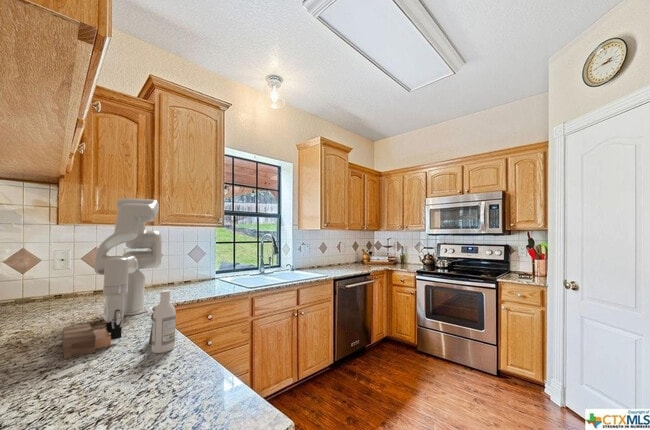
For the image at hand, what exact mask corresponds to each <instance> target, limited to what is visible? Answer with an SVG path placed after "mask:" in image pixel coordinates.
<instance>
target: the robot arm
mask: <svg viewBox="0 0 650 430" xmlns="http://www.w3.org/2000/svg"><path fill="white" fill-rule="evenodd" d="M116 208H117V210H118V211H117V215H116V220H115V226H114V232H113V233H112V234H111V235H109V236H108V237H107V238H105V239H104V240H103V242H101V244H100V245H99V246H98V248H97V250H96V254H95V258H94V265H93V271H94V272H95V274H97V275H99V276H103V287H102V288H103V291H102V295H103V296H105V299H104V309H103V319H104V321H105V322H106V324H105V329H106V330H107V331H108V333H109V334H110V335H111V341H113V340H118V339H121V338H122V328H123V324H122V320H123V319H124V317H125V316H135V315H140V314H143V313H146V312H147V311H148V308H147V307H144V305H145V285H146V282H145V281H146V278H145V277H146V276H145V274H144V273H143V272H142V271H141V270H144V269H145V270H146V269H157V268H159V267H160V266H161V264H162V242H163V241H162V234H161V232H160V231H158V230H147V229H146V223H151V222H155V220H156V218H157V216H158V213H159V210H160V205H159V202H158V200H156V199H147V198H128V197H127V198H126V197H125V198H120V199H118V200H117V202H116ZM122 244H125V246H126V248H127V249H131V250H129V251H126V252H124V253H123V254H122V255H107V254H108V253H109V252H110V250H111V249H113V248H114V247H117V246H119V245H122ZM133 249H134V250H133ZM135 249H136V250H135ZM138 249H139V250H138ZM142 249H144V250H142ZM145 249H150V250H145Z"/></svg>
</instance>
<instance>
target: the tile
mask: <svg viewBox="0 0 650 430" xmlns="http://www.w3.org/2000/svg"><path fill="white" fill-rule="evenodd" d="M93 332H94V334H95V336H96V337H95V350H96V349H100V348H106V347H109V346H110V347H111V345H112V340H111V335H110V334H111V333H108V331H107V330H106V328H101V329H97V330H93Z"/></svg>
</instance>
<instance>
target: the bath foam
mask: <svg viewBox="0 0 650 430" xmlns="http://www.w3.org/2000/svg"><path fill="white" fill-rule="evenodd" d="M159 300H160V301H159V303H158V305H157V306H156V307H155V308H154V311H153V312H154V314H153V321H152V322H153V326H152V325H151V328H152V344H151V352H152V353H154V354H163V353H167V352H169V351H172V350H173V349H174V348H175V342H176V320H177V313H176V312H177V311H176V309H175V308H176V307H175V306H174V304H173V303H172V302H171V290H169V289H165V290H161V291H160V299H159Z"/></svg>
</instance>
